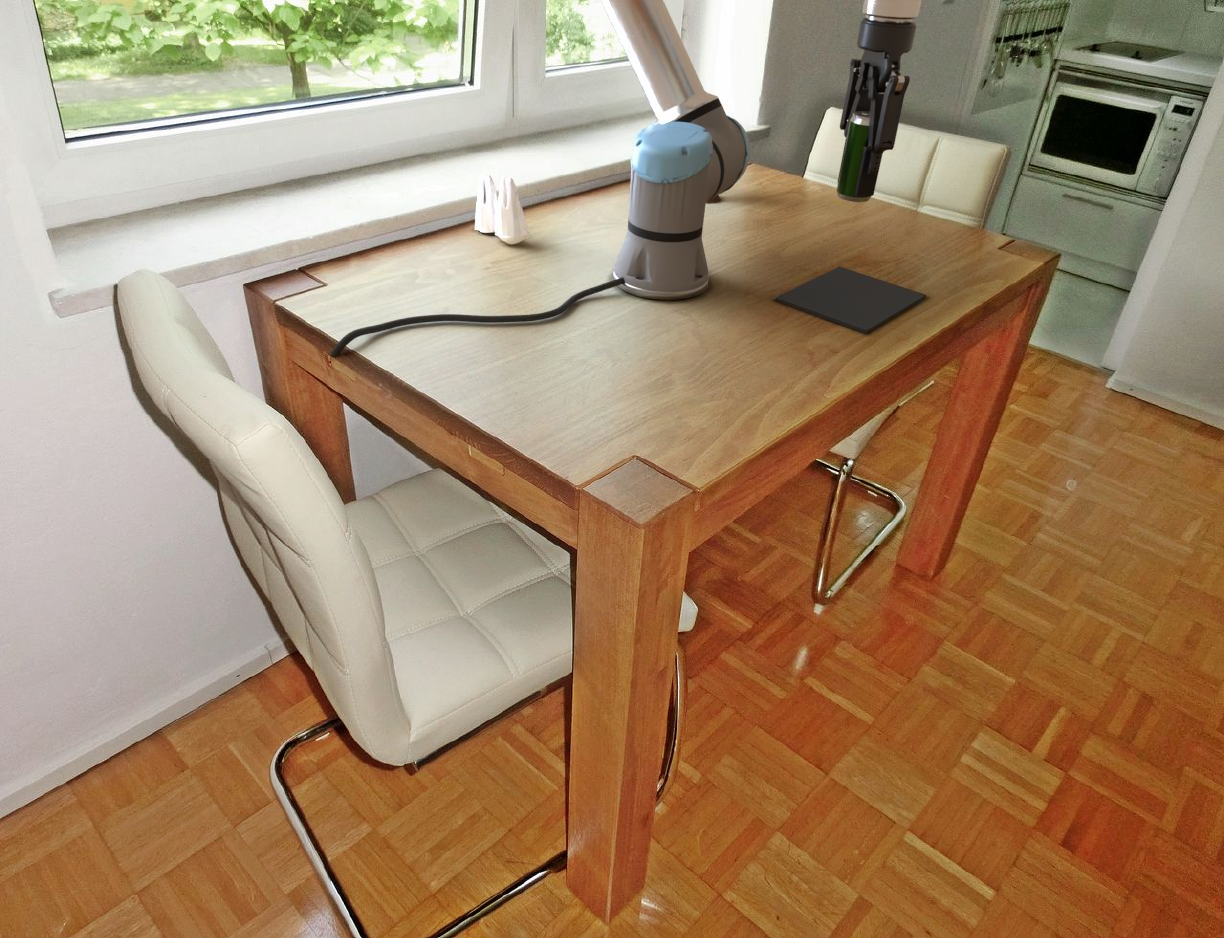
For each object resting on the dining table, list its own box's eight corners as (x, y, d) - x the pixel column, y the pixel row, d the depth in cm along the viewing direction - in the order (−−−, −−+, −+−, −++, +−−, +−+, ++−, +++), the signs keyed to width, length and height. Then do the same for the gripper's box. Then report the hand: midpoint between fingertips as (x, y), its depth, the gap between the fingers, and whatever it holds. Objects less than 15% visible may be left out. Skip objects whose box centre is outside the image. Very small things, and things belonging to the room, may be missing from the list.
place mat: (866, 334, 131) (867, 330, 131) (774, 300, 140) (775, 297, 140) (925, 298, 144) (926, 294, 144) (838, 269, 153) (839, 266, 152)
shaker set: (531, 245, 154) (531, 181, 148) (510, 250, 152) (510, 184, 146) (492, 225, 162) (491, 163, 155) (472, 229, 159) (470, 166, 153)
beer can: (831, 198, 135) (846, 114, 128) (841, 189, 139) (857, 108, 132) (865, 205, 133) (883, 120, 126) (875, 196, 137) (893, 114, 130)
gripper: (949, 29, 116) (906, 207, 129) (883, 9, 131) (851, 171, 143) (896, 28, 114) (859, 208, 127) (836, 8, 129) (808, 171, 142)
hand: (855, 188), depth 135 cm, fingers closed on beer can, 5 cm apart
